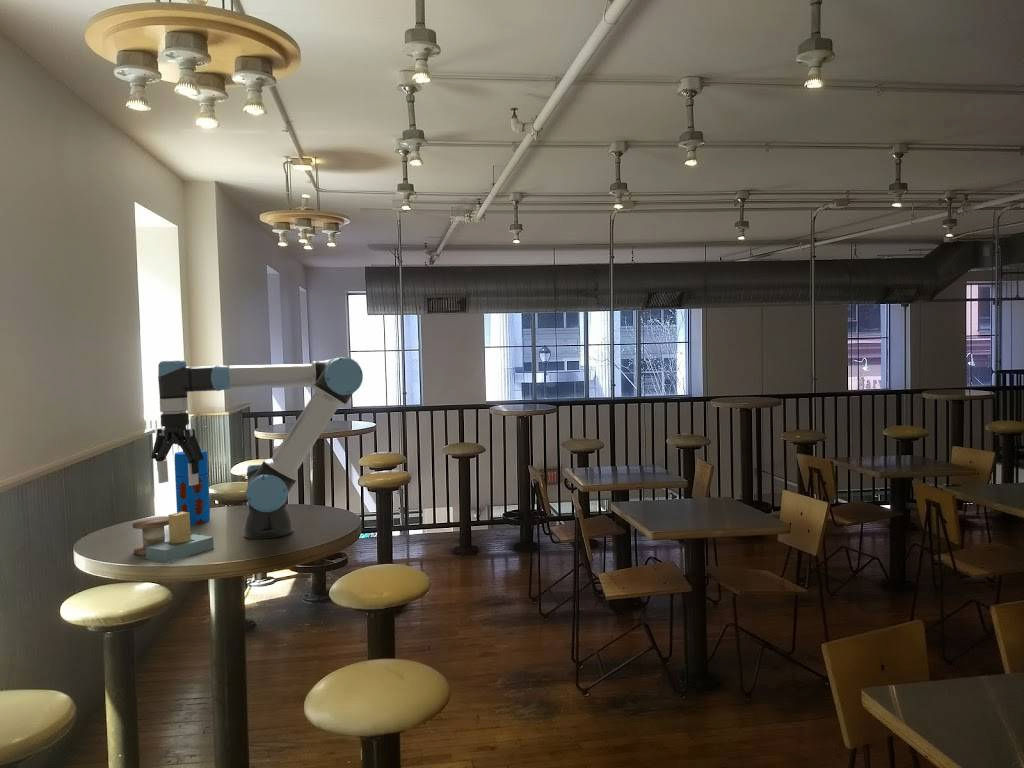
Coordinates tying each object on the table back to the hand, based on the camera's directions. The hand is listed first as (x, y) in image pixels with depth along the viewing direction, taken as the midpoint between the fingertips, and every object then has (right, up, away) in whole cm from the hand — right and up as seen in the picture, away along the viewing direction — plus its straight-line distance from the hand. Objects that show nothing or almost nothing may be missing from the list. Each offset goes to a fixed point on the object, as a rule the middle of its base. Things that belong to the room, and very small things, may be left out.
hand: (178, 483), depth 209 cm
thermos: (-15, -20, +43) cm, 49 cm away
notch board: (+1, -21, 0) cm, 21 cm away
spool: (-9, -21, +4) cm, 23 cm away
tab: (+1, -21, 0) cm, 21 cm away
